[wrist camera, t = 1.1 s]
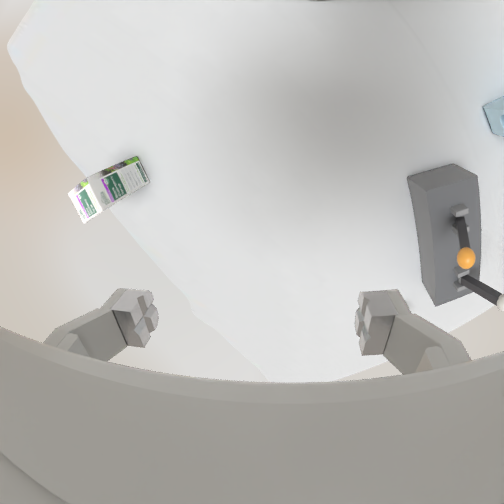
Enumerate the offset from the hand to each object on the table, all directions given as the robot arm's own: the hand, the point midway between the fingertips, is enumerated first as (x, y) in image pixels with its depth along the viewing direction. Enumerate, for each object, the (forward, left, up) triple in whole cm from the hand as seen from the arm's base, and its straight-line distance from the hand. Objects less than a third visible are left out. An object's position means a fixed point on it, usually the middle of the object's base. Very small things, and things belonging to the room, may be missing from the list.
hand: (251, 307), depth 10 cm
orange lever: (-8, +26, -27) cm, 38 cm away
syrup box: (+16, -24, -36) cm, 46 cm away
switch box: (-4, +30, -36) cm, 47 cm away
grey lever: (-1, +34, -27) cm, 43 cm away
